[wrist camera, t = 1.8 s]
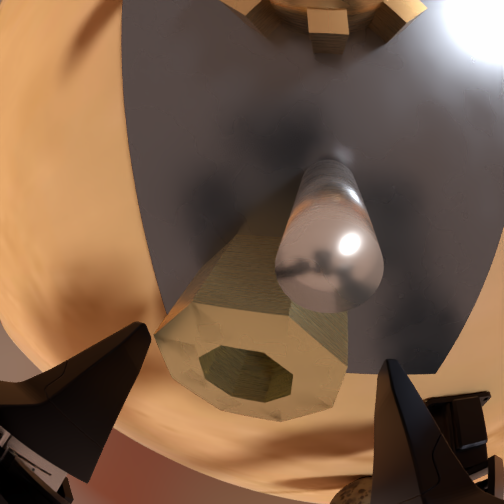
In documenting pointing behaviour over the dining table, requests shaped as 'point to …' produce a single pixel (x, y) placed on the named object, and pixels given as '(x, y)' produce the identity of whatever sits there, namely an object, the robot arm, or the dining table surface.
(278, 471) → the dining table surface
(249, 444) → the dining table surface
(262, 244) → the hollow octagonal tube
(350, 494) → the decorative egg
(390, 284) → the carrier
